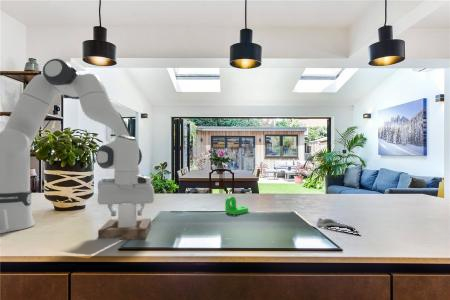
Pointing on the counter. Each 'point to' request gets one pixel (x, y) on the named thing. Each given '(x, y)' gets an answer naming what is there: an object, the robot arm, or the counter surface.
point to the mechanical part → (234, 207)
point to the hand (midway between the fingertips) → (126, 215)
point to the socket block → (125, 230)
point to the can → (126, 215)
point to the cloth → (333, 225)
